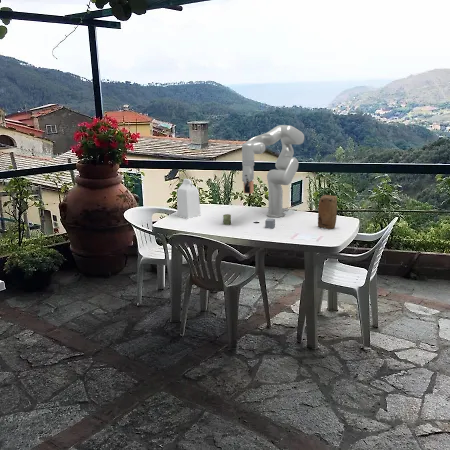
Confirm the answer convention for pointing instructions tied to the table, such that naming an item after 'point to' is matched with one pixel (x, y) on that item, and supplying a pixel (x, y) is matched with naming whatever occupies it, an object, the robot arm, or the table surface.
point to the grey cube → (270, 223)
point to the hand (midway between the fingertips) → (248, 191)
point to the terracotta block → (250, 187)
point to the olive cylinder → (227, 219)
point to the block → (327, 211)
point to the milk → (188, 200)
